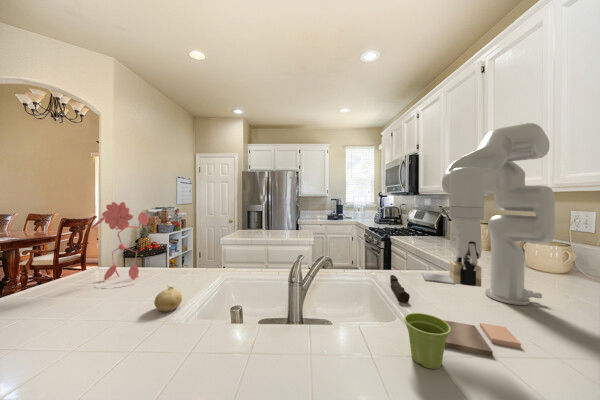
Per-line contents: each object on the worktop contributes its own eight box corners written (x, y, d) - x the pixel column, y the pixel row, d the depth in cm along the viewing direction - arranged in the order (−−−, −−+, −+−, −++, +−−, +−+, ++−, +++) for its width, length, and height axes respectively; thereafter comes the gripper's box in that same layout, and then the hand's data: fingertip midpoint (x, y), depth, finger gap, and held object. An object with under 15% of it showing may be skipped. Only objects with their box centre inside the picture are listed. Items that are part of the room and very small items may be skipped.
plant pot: (397, 346, 58) (397, 311, 58) (435, 347, 58) (435, 312, 58) (414, 374, 49) (415, 333, 48) (460, 376, 48) (460, 335, 48)
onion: (185, 308, 76) (185, 287, 76) (158, 317, 71) (158, 294, 70) (176, 301, 82) (177, 281, 82) (151, 309, 76) (151, 287, 76)
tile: (505, 326, 65) (520, 343, 57) (505, 332, 65) (520, 349, 57) (479, 322, 67) (491, 338, 60) (479, 328, 67) (491, 344, 60)
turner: (474, 280, 63) (474, 262, 63) (482, 288, 57) (483, 268, 57) (422, 274, 68) (422, 257, 68) (425, 281, 62) (425, 262, 62)
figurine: (102, 275, 107) (101, 201, 106) (156, 276, 107) (156, 201, 106) (69, 289, 92) (67, 202, 91) (132, 290, 92) (131, 203, 91)
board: (474, 329, 66) (474, 325, 66) (492, 356, 54) (492, 351, 54) (419, 319, 70) (419, 316, 70) (425, 342, 59) (426, 338, 59)
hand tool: (409, 304, 82) (410, 291, 82) (397, 302, 82) (398, 290, 82) (398, 284, 100) (398, 274, 100) (388, 283, 101) (388, 273, 101)
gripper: (442, 211, 70) (441, 271, 70) (458, 215, 55) (457, 291, 55) (472, 212, 68) (471, 274, 68) (497, 216, 52) (496, 296, 52)
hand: (465, 281), depth 61 cm, fingers closed on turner, 4 cm apart
